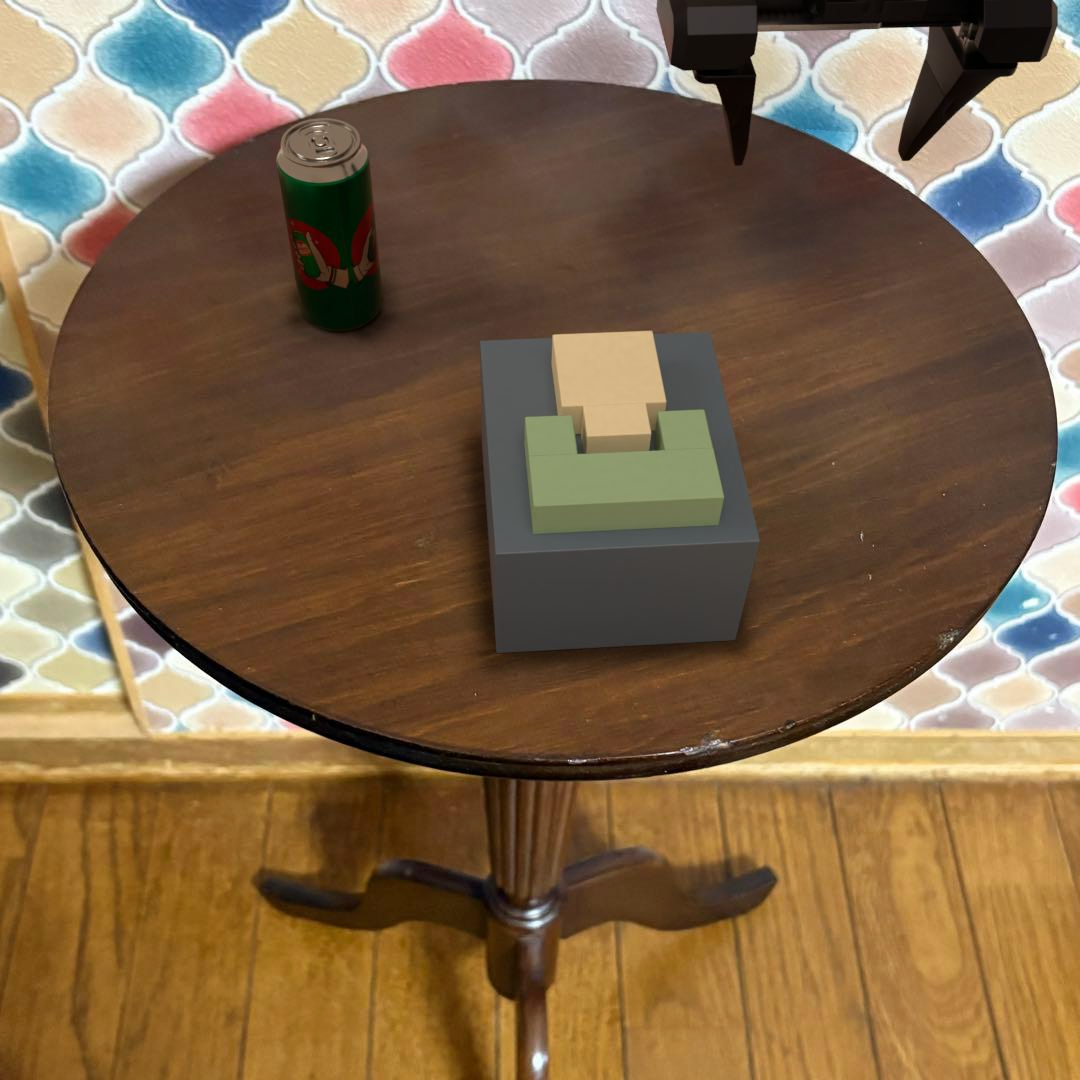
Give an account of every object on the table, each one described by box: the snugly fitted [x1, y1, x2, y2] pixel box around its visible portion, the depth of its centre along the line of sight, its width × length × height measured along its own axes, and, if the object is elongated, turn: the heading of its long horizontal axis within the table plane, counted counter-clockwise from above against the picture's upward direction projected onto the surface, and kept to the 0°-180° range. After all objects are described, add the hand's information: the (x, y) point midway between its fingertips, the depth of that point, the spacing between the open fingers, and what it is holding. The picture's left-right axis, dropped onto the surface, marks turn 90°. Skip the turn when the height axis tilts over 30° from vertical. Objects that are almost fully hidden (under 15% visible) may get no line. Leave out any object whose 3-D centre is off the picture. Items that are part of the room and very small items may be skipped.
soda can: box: [275, 117, 384, 333], centre depth 74 cm, size 5×5×12 cm
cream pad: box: [551, 330, 667, 454], centre depth 62 cm, size 5×7×2 cm
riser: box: [479, 331, 761, 654], centre depth 65 cm, size 12×14×8 cm
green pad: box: [524, 410, 724, 534], centre depth 59 cm, size 8×6×2 cm, turn 95°
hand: (820, 158), depth 70 cm, fingers open, 9 cm apart
